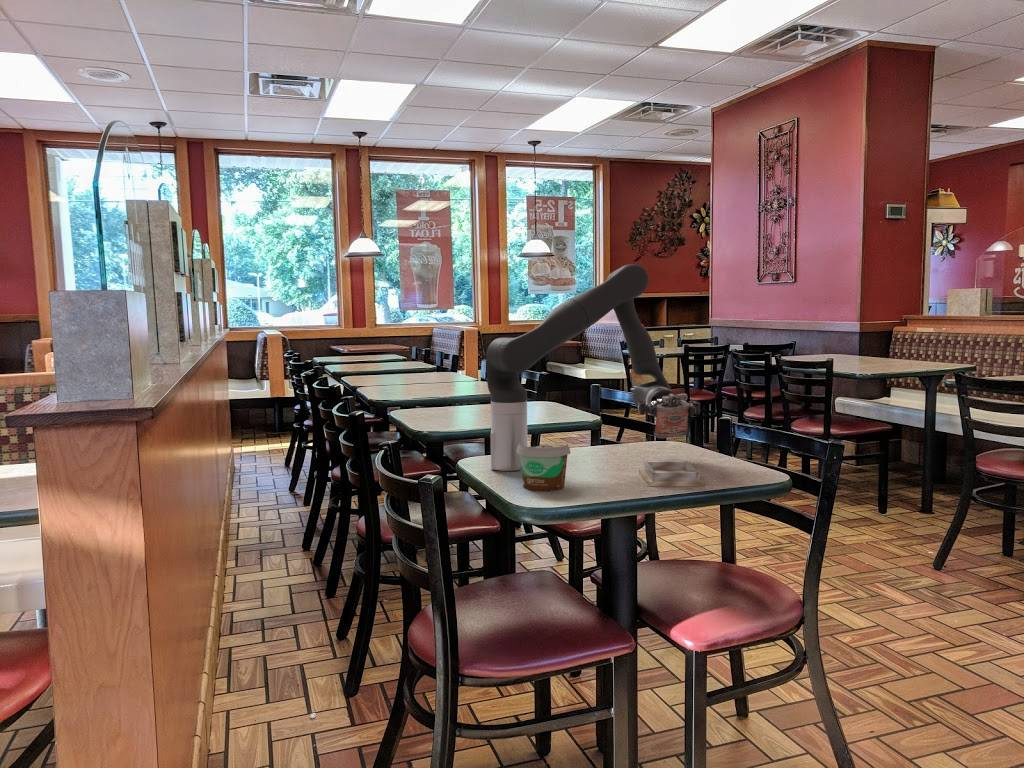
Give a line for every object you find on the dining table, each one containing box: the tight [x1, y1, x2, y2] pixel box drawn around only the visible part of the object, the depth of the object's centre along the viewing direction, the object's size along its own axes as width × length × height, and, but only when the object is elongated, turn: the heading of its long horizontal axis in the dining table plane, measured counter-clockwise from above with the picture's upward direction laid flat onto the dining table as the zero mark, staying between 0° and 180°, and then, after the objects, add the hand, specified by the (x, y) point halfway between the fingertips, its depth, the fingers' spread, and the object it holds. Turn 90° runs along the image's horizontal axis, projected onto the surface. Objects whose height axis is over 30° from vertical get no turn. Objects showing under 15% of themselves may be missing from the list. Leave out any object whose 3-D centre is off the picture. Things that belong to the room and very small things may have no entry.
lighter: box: [653, 393, 690, 439], centre depth 175 cm, size 8×3×10 cm, turn 106°
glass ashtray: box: [638, 460, 706, 487], centre depth 178 cm, size 13×14×3 cm
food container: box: [517, 442, 571, 493], centre depth 169 cm, size 12×6×10 cm, turn 76°
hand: (673, 411), depth 173 cm, fingers closed on lighter, 8 cm apart
